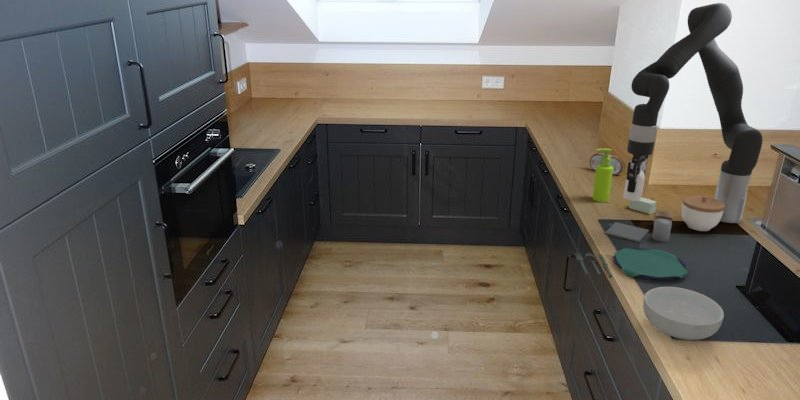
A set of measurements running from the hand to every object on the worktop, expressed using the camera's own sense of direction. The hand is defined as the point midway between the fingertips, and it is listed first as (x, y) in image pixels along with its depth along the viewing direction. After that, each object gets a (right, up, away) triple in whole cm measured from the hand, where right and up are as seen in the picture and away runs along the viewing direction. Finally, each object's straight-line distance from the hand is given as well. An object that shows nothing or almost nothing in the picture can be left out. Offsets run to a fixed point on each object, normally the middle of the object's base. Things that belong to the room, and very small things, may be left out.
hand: (633, 189), depth 184 cm
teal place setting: (-8, -23, -17) cm, 30 cm away
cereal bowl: (-9, -35, -48) cm, 60 cm away
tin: (+15, +8, +66) cm, 68 cm away
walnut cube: (+14, -13, +10) cm, 21 cm away
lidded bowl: (+26, -13, +10) cm, 31 cm away
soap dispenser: (+1, -4, +35) cm, 35 cm away
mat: (0, -14, +5) cm, 15 cm away
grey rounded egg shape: (+9, -16, +1) cm, 18 cm away
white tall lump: (0, -3, +1) cm, 3 cm away
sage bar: (+13, -7, +25) cm, 29 cm away
